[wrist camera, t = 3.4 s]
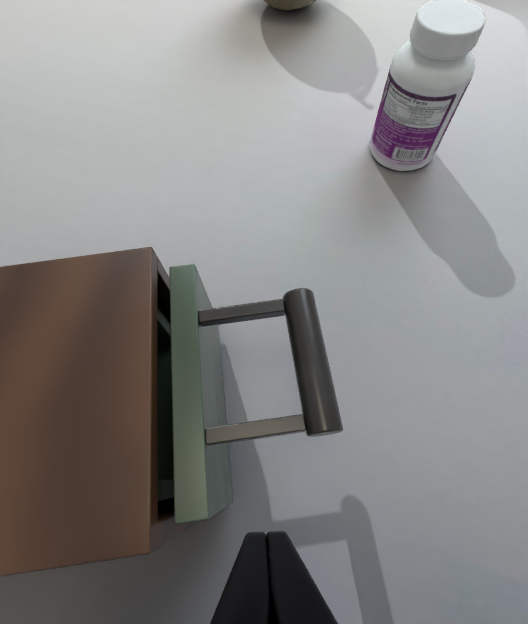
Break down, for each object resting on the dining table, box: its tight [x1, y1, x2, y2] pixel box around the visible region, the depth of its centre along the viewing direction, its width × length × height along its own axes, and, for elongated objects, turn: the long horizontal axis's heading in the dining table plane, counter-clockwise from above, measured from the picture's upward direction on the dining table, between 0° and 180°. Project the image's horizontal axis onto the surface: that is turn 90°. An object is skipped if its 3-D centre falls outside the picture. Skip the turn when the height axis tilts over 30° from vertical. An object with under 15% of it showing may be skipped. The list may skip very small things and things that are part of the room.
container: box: [157, 264, 343, 524], centre depth 17 cm, size 18×10×7 cm, turn 98°
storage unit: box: [0, 247, 199, 577], centre depth 17 cm, size 14×12×9 cm
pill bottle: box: [370, 0, 486, 171], centre depth 25 cm, size 5×5×10 cm
